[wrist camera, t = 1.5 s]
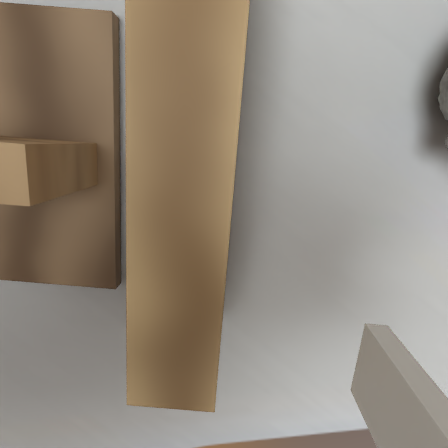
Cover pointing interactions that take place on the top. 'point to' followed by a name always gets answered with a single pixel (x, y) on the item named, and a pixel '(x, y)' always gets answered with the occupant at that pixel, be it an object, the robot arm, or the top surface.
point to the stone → (444, 99)
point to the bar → (179, 192)
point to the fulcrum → (59, 146)
